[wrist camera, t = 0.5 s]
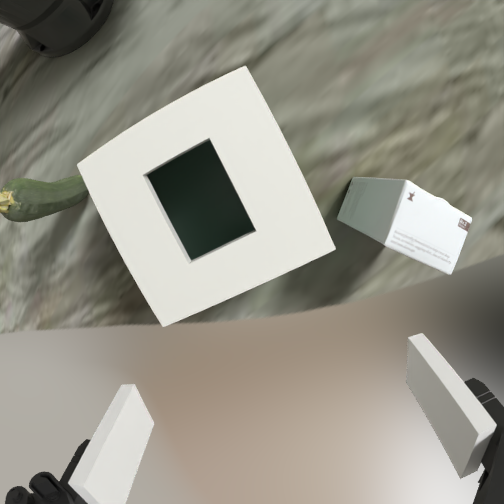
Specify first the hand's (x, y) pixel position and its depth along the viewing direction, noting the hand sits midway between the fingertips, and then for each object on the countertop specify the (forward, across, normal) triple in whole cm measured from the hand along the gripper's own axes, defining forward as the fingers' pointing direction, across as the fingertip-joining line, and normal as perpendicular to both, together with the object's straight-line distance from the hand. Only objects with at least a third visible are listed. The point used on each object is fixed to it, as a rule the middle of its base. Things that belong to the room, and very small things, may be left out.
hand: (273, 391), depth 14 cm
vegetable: (+27, -22, +12) cm, 37 cm away
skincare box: (+27, +14, +2) cm, 30 cm away
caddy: (+27, -4, +8) cm, 28 cm away
